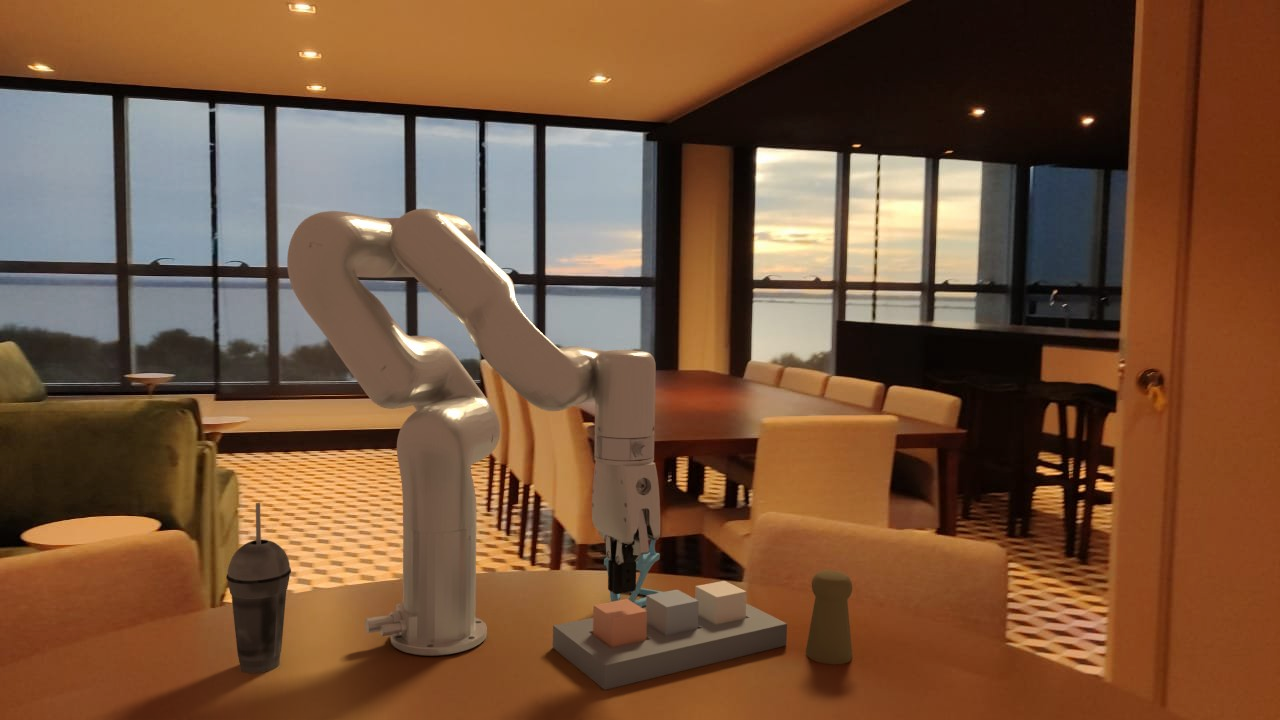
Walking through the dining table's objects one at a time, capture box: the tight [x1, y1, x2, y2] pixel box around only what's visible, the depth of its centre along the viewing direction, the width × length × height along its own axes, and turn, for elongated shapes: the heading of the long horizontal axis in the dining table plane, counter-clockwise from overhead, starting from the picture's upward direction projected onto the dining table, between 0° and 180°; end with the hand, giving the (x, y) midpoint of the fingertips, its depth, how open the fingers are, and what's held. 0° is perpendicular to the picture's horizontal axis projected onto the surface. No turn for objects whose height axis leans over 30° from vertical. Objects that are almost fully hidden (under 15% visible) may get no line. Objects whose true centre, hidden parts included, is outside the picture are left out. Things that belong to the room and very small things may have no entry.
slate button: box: [645, 589, 699, 636], centre depth 116 cm, size 5×5×4 cm
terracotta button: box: [592, 598, 647, 648], centre depth 112 cm, size 5×5×4 cm
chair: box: [603, 539, 662, 608], centre depth 132 cm, size 8×8×12 cm
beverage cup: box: [226, 502, 292, 674], centre depth 107 cm, size 7×7×20 cm
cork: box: [805, 569, 853, 665], centre depth 115 cm, size 6×6×11 cm
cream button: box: [694, 580, 748, 625], centre depth 120 cm, size 5×5×4 cm
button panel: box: [552, 597, 788, 691], centre depth 116 cm, size 28×14×3 cm, turn 122°
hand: (621, 590), depth 112 cm, fingers closed
